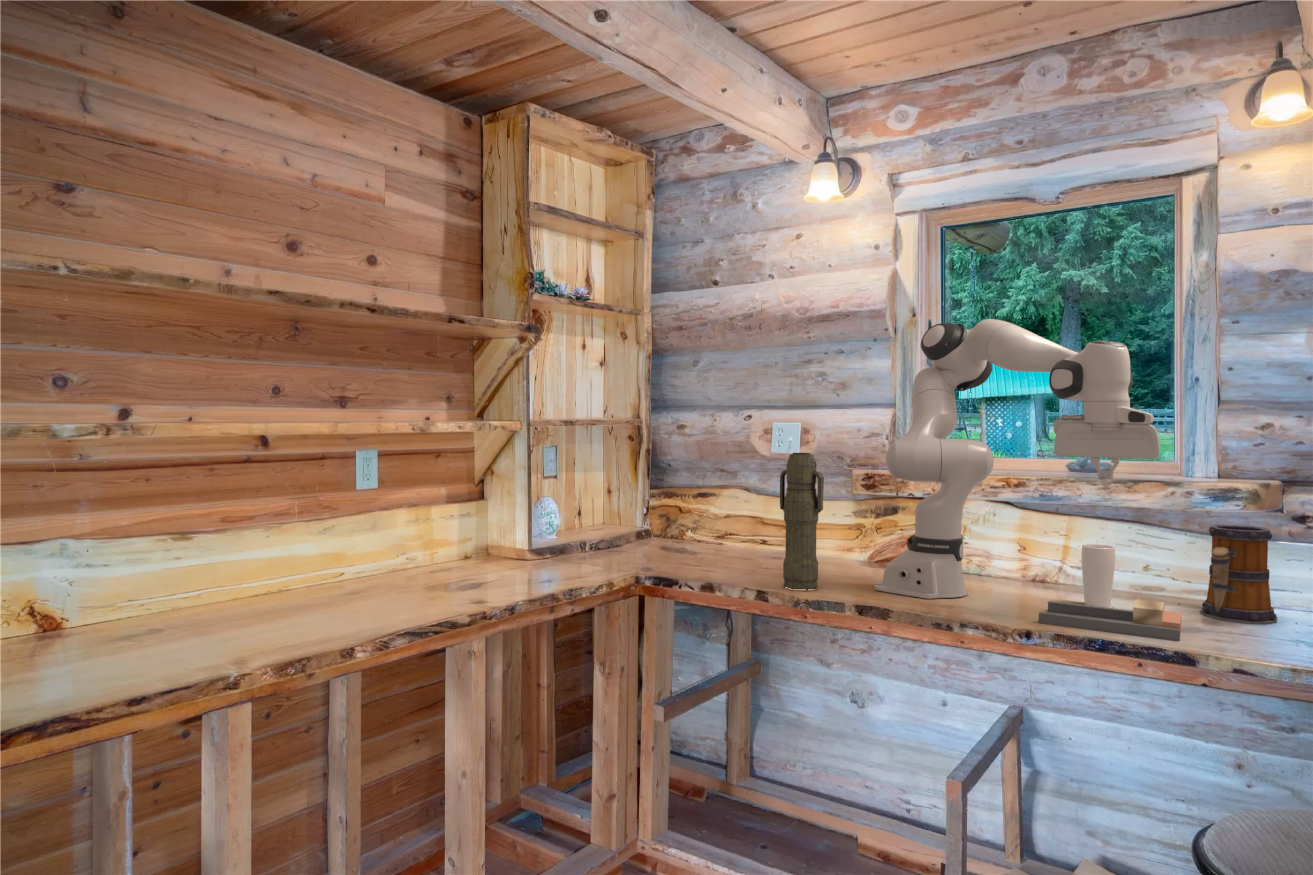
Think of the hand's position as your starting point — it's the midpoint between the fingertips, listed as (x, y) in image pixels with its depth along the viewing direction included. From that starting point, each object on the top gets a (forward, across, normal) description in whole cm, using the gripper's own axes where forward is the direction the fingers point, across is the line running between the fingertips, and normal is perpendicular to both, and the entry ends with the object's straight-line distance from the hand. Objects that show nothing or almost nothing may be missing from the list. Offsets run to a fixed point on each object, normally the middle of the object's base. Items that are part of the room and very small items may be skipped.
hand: (1105, 478), depth 181 cm
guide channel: (+31, +2, -9) cm, 32 cm away
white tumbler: (+31, -2, +10) cm, 33 cm away
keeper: (+30, +9, -9) cm, 32 cm away
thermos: (+31, -69, -4) cm, 76 cm away
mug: (+31, +24, +20) cm, 44 cm away
